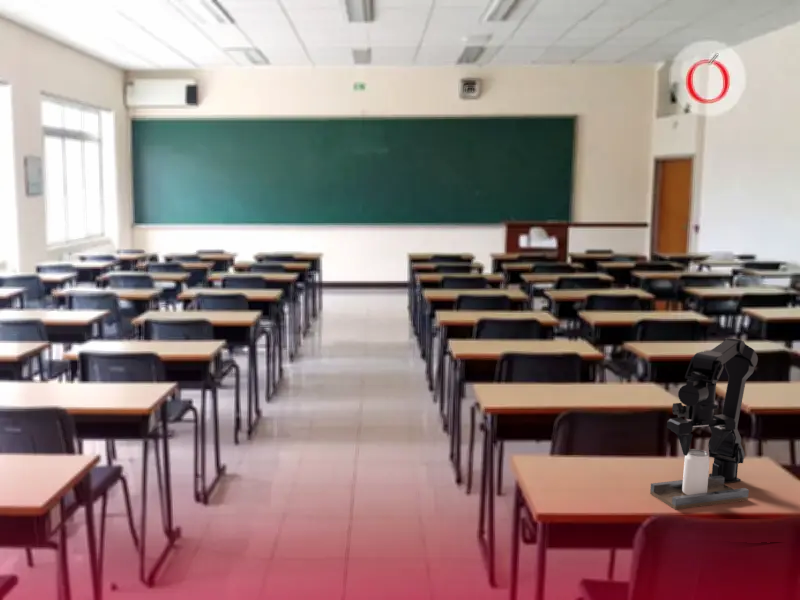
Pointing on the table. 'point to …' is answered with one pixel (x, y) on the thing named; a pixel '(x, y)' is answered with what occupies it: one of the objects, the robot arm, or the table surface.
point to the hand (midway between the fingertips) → (699, 453)
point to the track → (715, 494)
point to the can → (695, 472)
